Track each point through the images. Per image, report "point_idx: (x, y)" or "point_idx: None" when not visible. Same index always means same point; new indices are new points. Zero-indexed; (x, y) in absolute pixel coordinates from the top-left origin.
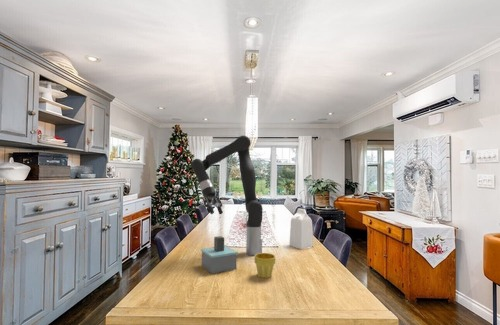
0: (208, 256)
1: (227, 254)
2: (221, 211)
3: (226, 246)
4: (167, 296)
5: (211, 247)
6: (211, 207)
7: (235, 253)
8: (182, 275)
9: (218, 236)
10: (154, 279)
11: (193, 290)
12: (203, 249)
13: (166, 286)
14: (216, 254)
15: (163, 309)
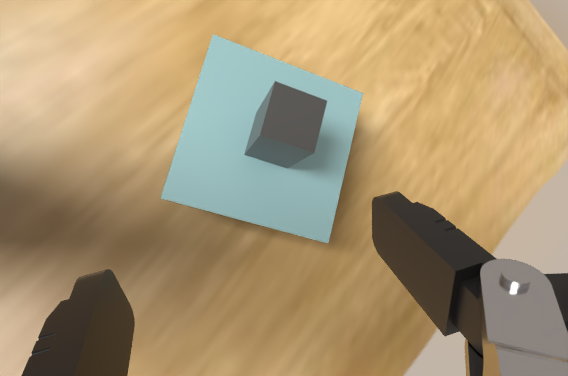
0: None
1: (277, 61)
2: (103, 292)
3: (174, 173)
4: (503, 86)
5: (264, 222)
6: (469, 253)
7: (228, 43)
8: (407, 190)
9: (282, 140)
10: (485, 226)
11: (440, 61)
12: (325, 220)
13: (481, 146)
14: (330, 93)
15: (532, 37)
